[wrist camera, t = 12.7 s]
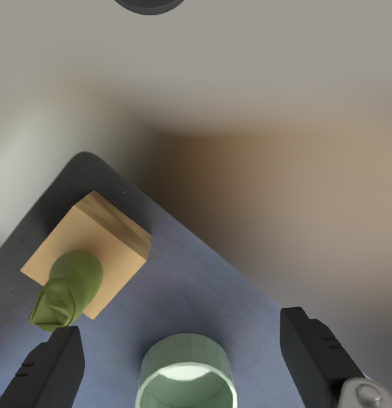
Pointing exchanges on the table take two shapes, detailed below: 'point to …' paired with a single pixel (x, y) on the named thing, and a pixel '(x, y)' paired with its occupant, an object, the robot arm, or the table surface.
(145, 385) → the pot
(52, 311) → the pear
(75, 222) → the block
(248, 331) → the table surface
